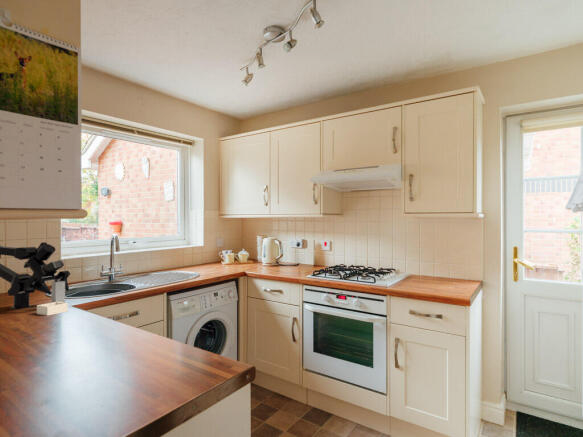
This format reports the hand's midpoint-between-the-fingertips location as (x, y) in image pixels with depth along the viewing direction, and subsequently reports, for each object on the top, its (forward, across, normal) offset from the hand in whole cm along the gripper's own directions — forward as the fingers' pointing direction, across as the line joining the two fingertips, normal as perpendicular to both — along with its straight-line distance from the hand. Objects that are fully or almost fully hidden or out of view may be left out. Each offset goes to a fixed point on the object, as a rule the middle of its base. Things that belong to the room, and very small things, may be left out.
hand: (59, 291), depth 152 cm
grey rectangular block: (+5, 0, +6) cm, 7 cm away
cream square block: (+8, -8, +2) cm, 11 cm away
